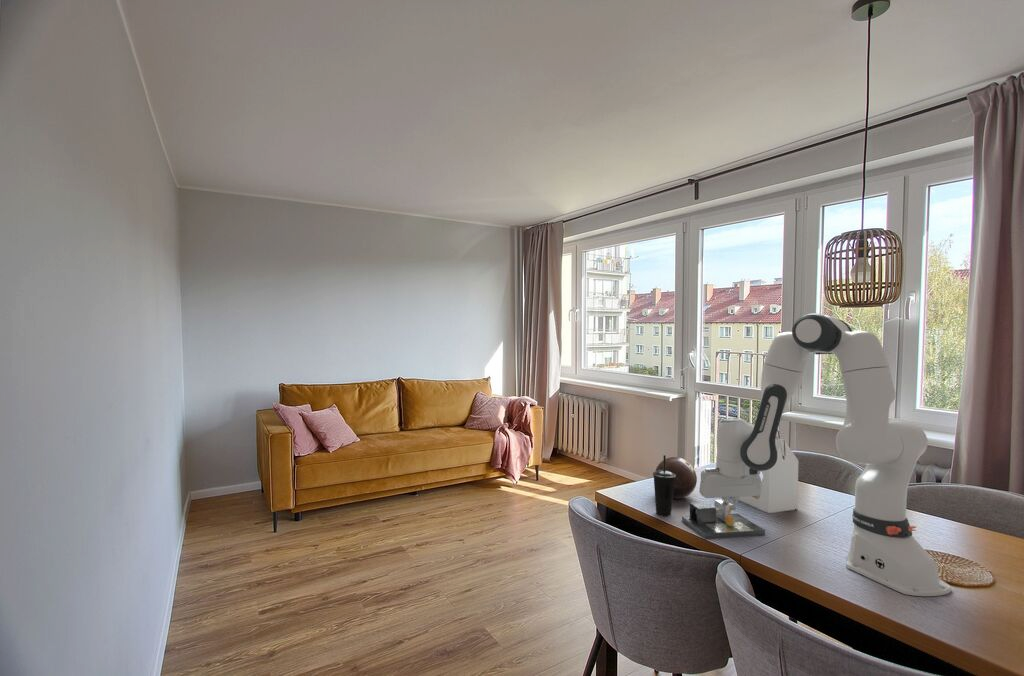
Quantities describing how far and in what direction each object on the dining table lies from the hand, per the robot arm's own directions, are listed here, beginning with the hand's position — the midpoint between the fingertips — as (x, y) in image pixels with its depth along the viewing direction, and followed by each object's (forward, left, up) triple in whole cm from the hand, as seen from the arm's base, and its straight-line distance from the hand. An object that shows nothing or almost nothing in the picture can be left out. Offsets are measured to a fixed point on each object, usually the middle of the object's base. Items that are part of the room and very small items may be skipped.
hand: (729, 509), depth 164 cm
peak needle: (-6, +4, -2) cm, 8 cm away
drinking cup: (+11, +18, -5) cm, 21 cm away
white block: (-2, +7, -3) cm, 7 cm away
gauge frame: (-3, +5, -4) cm, 7 cm away
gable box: (+18, -23, -5) cm, 30 cm away
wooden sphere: (+26, +6, -5) cm, 27 cm away
